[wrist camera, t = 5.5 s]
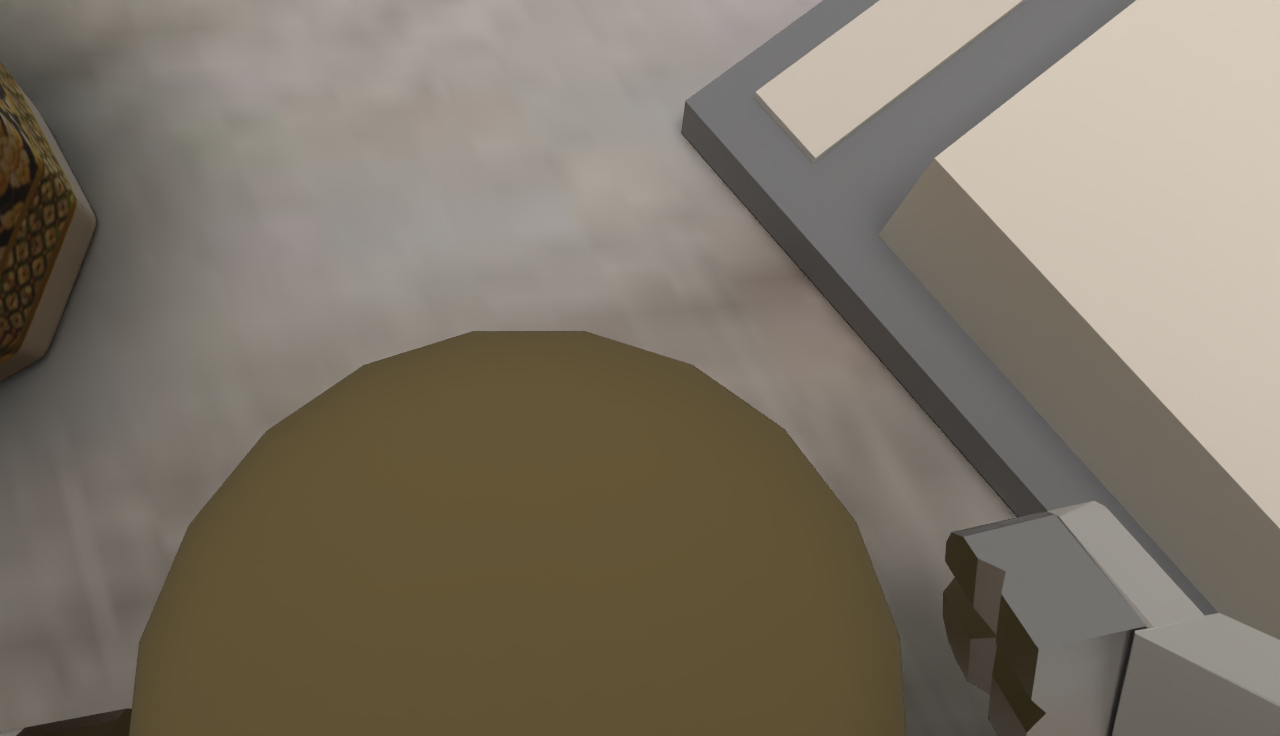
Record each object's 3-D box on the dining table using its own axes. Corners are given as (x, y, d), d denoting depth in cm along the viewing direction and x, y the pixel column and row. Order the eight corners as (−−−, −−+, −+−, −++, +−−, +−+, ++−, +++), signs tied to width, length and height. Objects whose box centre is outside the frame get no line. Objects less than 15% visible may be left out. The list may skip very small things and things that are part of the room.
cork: (796, 787, 15) (1205, 1270, 5) (425, 854, 15) (-80, 1546, 4) (728, 424, 17) (920, 133, 6) (386, 479, 16) (-74, 278, 6)
